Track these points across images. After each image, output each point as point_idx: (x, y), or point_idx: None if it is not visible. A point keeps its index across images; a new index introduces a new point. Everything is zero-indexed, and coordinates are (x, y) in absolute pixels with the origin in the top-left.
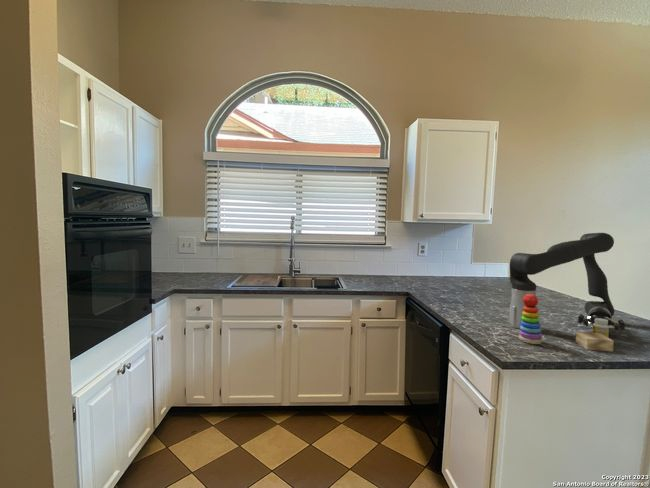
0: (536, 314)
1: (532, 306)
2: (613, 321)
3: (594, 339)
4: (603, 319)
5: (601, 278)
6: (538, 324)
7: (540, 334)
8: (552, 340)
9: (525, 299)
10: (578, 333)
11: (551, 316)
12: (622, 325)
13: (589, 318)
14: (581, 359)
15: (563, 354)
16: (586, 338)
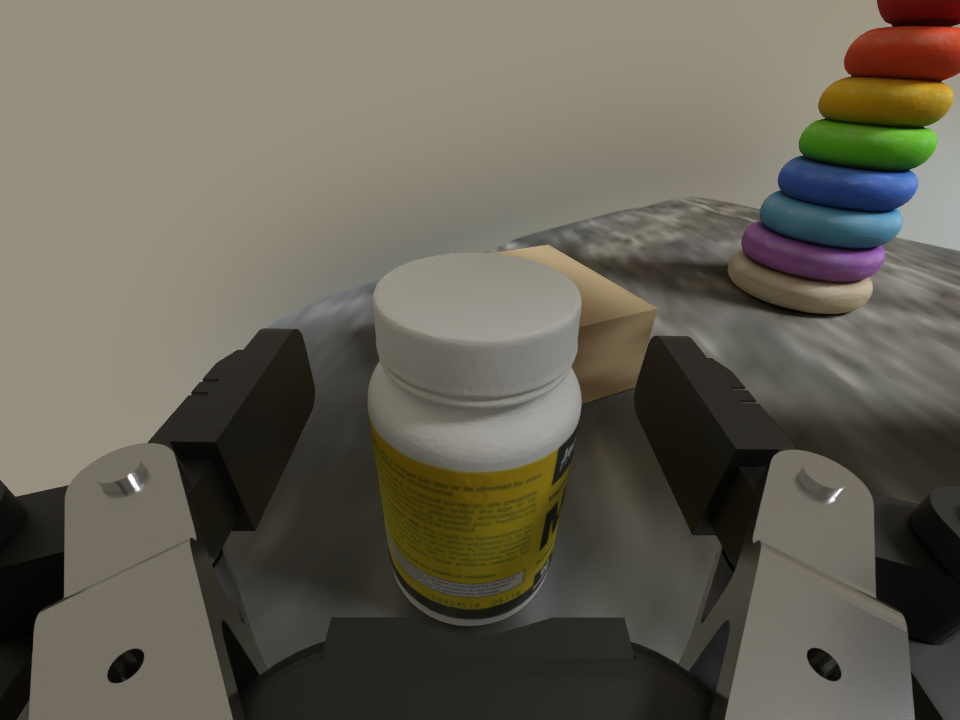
0: (828, 87)
1: (885, 21)
2: (141, 553)
3: (512, 252)
4: (439, 304)
5: None
6: (787, 163)
7: (753, 229)
8: (741, 341)
9: None
10: (627, 295)
11: None
12: (34, 509)
13: (757, 527)
14: (537, 241)
15: (600, 248)
16: (554, 250)
